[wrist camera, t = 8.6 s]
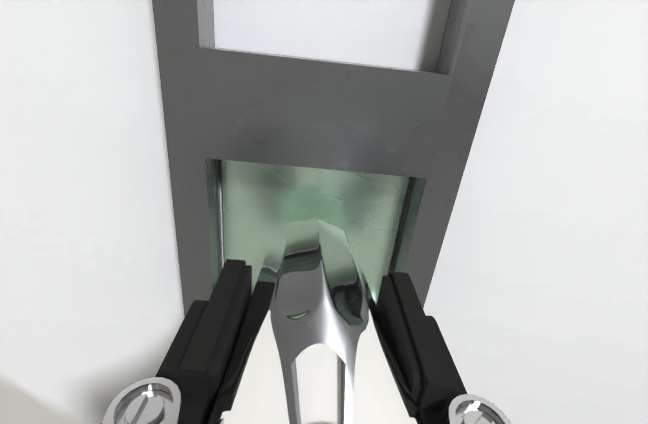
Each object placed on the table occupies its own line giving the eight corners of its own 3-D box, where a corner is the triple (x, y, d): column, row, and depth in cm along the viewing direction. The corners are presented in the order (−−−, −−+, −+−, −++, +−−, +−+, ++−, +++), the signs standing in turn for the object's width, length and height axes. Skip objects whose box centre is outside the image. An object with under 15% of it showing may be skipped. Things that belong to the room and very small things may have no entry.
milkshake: (298, 331, 14) (284, 811, 5) (225, 235, 12) (-12, 779, 3) (397, 289, 13) (577, 768, 5) (338, 178, 11) (457, 684, 2)
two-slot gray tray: (576, -322, 8) (634, -404, 6) (400, 332, 17) (407, 358, 15) (142, -406, 7) (99, -519, 6) (199, 320, 16) (187, 346, 15)
